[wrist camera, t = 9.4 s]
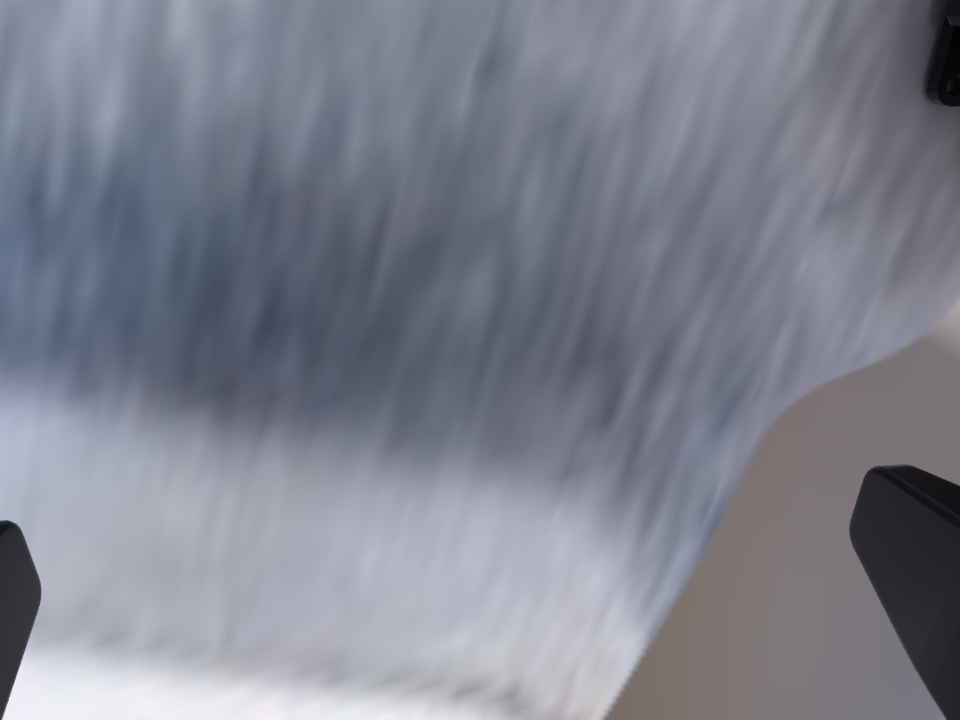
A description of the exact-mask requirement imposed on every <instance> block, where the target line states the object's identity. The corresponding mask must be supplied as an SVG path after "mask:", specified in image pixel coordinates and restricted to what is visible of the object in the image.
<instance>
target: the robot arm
mask: <svg viewBox="0 0 960 720" xmlns="http://www.w3.org/2000/svg"><path fill="white" fill-rule="evenodd" d="M954 76H955V77H956V84H955V86H954V88H953V89H952V90H951V91H950V92H949V93H948V91H947V85H948V83H949V81H950V80H951V79H952V78H953V77H954ZM927 93H928V97H929V99H930V100H931V101H932V102H933V103H937V104H942V105H947V106H960V0H949V3H948V6H947V10H946V17H945V21H944V25H943V29H942V32H941V36H940V40H939V43H938V47H937V51H936V55H935V58H934V62H933V66H932V70H931V73H930V77H929V81H928V86H927ZM849 532H850V539H851V542H852V545H853V548H854V549H855V552H856V554H857V556H858V558H859V560H860V562H861V564H862V566H863V568H864V569H865V572H866V574H867V576H868V577H869V580H870V582H871V584H872V586H873V588H874V590H875V592H876V594H877V596H878V598H879V600H880V602H881V604H882V605H883V608H884V610H885V611H886V614H887V616H888V618H889V620H890V622H891V624H892V626H893V627H894V630H895V632H896V634H897V635H898V638H899V639H900V641H901V643H902V645H903V647H904V649H905V651H906V653H907V655H908V657H909V659H910V661H911V662H912V664H913V666H914V668H915V670H916V672H917V673H918V675H919V676H920V678H921V680H922V682H923V683H924V685H925V687H926V688H927V690H928V692H929V693H930V695H931V696H932V698H933V700H934V701H935V703H936V705H937V706H938V708H939V709H940V711H941V712H942V714H943V716H944V717H945V719H946V720H960V486H959V485H957V484H954V483H952V482H949V481H947V480H945V479H942V478H940V477H938V476H935V475H933V474H931V473H928V472H926V471H924V470H921V469H919V468H917V467H914V466H911V465H905V464H903V465H886V466H876V467H873V468H871V469H870V470H869V471H868V472H867V473H866V474H865V477H864V479H863V482H862V485H861V489H860V492H859V495H858V498H857V502H856V504H855V508H854V511H853V514H852V518H851V520H850V527H849ZM40 601H41V583H40V579H39V576H38V573H37V571H36V568H35V565H34V563H33V560H32V557H31V554H30V552H29V549H28V546H27V544H26V541H25V538H24V535H23V533H22V531H21V529H20V528H19V526H18V525H17V524H15V523H14V522H11V521H6V520H5V521H0V720H2V718H3V715H4V712H5V709H6V706H7V703H8V700H9V697H10V694H11V691H12V688H13V685H14V682H15V679H16V676H17V673H18V670H19V667H20V664H21V661H22V658H23V655H24V652H25V649H26V646H27V643H28V640H29V637H30V634H31V631H32V628H33V624H34V621H35V618H36V615H37V612H38V609H39V606H40Z"/></svg>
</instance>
